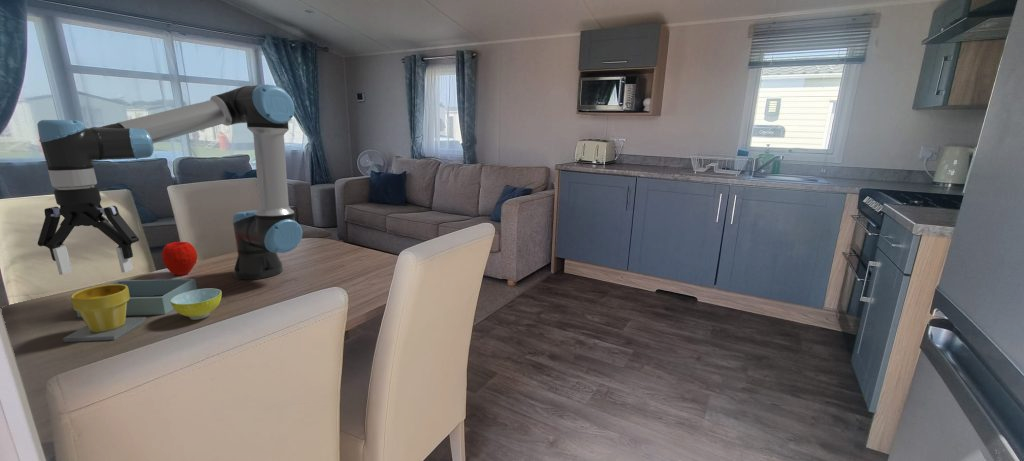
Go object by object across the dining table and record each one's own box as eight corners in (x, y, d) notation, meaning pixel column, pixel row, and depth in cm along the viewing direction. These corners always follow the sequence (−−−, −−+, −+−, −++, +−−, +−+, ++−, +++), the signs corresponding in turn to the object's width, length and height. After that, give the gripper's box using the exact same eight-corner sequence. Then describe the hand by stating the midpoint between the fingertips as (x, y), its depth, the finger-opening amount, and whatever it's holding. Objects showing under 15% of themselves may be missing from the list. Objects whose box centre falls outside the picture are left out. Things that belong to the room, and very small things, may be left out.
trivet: (146, 320, 113) (145, 317, 113) (114, 339, 103) (113, 336, 103) (100, 322, 112) (100, 318, 112) (63, 342, 101) (63, 338, 101)
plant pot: (100, 338, 101) (92, 300, 99) (67, 333, 103) (58, 296, 101) (145, 320, 111) (138, 285, 109) (114, 316, 113) (106, 282, 111)
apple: (206, 270, 154) (202, 238, 151) (181, 279, 144) (176, 245, 141) (183, 268, 155) (178, 236, 152) (157, 277, 146) (151, 243, 143)
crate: (197, 293, 132) (195, 278, 131) (165, 314, 117) (162, 297, 116) (121, 295, 129) (117, 280, 128) (77, 317, 114) (73, 300, 113)
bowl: (167, 328, 109) (163, 306, 108) (181, 311, 119) (177, 291, 118) (219, 321, 114) (216, 300, 112) (228, 305, 124) (225, 286, 122)
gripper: (145, 184, 104) (162, 265, 109) (31, 185, 101) (54, 268, 106) (122, 188, 97) (141, 275, 102) (-2, 190, 94) (24, 279, 99)
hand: (97, 271), depth 104 cm, fingers open, 13 cm apart
